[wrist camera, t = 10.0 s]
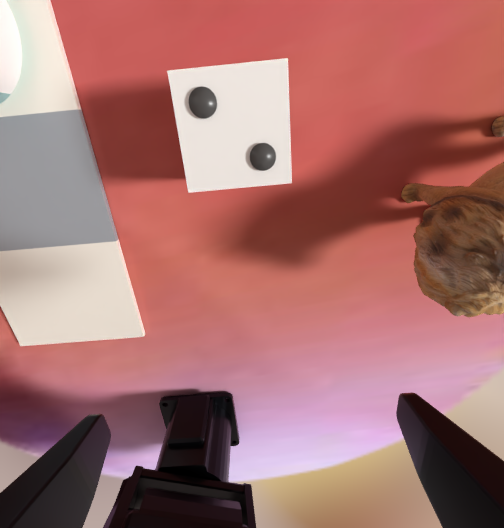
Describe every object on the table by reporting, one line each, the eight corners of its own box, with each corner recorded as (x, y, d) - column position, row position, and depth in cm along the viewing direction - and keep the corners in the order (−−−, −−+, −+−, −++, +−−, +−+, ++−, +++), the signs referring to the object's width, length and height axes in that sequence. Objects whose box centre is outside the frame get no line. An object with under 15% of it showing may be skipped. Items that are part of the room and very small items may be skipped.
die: (281, 171, 19) (292, 183, 14) (203, 179, 19) (187, 193, 14) (277, 80, 17) (288, 57, 12) (190, 89, 17) (166, 70, 12)
